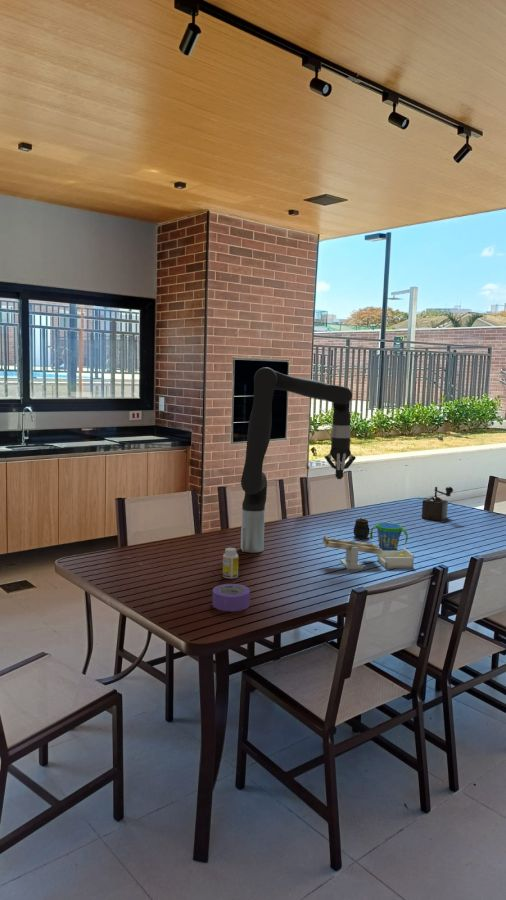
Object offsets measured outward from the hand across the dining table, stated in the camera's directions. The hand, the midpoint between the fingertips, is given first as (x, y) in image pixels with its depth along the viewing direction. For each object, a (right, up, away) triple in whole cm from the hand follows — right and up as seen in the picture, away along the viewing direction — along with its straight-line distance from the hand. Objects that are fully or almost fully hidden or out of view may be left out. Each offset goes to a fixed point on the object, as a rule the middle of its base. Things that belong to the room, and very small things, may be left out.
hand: (339, 478), depth 262 cm
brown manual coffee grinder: (+62, -24, +74) cm, 99 cm away
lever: (+3, -26, -10) cm, 28 cm away
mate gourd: (+14, -28, +31) cm, 44 cm away
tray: (+20, -33, -10) cm, 40 cm away
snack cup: (+22, -31, +12) cm, 40 cm away
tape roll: (-42, -37, -58) cm, 81 cm away
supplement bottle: (-43, -34, -30) cm, 63 cm away
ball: (+25, -31, -10) cm, 41 cm away
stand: (+3, -33, -12) cm, 35 cm away
